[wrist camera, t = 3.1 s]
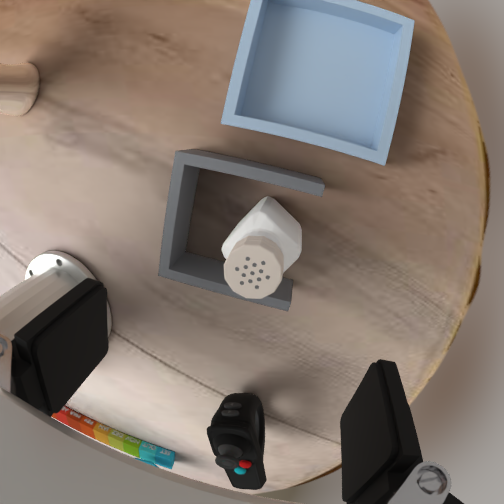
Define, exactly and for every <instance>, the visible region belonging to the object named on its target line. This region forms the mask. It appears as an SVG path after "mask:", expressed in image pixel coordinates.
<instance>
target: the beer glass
mask: <svg viewBox="0 0 504 504" xmlns="http://www.w3.org/2000/svg"><path fill="white" fill-rule="evenodd" d="M39 84H40V78H39V73H38V70H37V68H36V67H35V66H34V65H33V64H31V63H20V64H11V65H9V64H2V63H0V114H6V115H11V116H21V115H23V114H25V113H26V112H28V111H29V109H30V108H31V107H32V105H33V104H34V102H35V100H36V97H37V94H38V91H39Z"/></svg>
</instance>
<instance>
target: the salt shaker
mask: <svg viewBox="0 0 504 504" xmlns="http://www.w3.org/2000/svg"><path fill="white" fill-rule="evenodd" d="M221 250H222V253H223V255H224V257H225V258H226V261H225V263H224V277H225V280H226V282H227V283H228V285H229V286H230V288H231V289H232V291H234V292H235V293H237V294H239V295H241V296H243V297H245V298H251V299H262V298H264V297H266V296H268V295H270V294H272V293H274V292H275V290H276V289H277V287H278V286H279V284H280V283H281V281H282V276H283V273H284V272H285V271H286V270H287V269H288V268H289V267H290V266H291V265H292V264H293V263H294V262H295V261H296V260H297V259H298V258H299V256H300V253H301V251H302V228H301V226H300V224H299V223H298V222H297V221H296V220H295V219H294V218H293V217H292V216H291V215H290V214H289V213H288V212H287V211H286V210H285V209H284V208H283V207H282V206H281V205H280V204H279V203H278V202H277V201H276V200H275V199H274V198H272V197H269V196H267V197H265V198H262V199H261V200H260V201H259V202H258V203H257V204H256V205H255V207H254V208H253V209H252V210H251V211H250V212H249V213H248V214H247V215H246V216H245V217H244V218H243V219H242V220H241V221H240V222H239V223H238V224H237V226H236V227H235V228H234V230H233V231H232V232H231V234H230V235H229V236H228V238H227V239H226V241H225V242H224V243H223V246H222V249H221Z"/></svg>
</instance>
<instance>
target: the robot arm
mask: <svg viewBox="0 0 504 504" xmlns="http://www.w3.org/2000/svg"><path fill="white" fill-rule="evenodd" d="M111 326H112V323H111V312H110V307H109V304H108V301H107V290H106V288H104V285H103V283H102V282H100V281H97V280H96V279H95V277H94V276H93V275H92V273H91V272H90V271H89V270H88V269H87V268H86V267H85V266H84V265H83V264H82V263H81V262H79V261H78V260H77V259H75V258H74V257H72V256H71V255H68V254H66V253H63V252H60V251H47V252H44V253H42V254H40V255H38V256H37V257H35V258H34V259H33V260H32V261H31V263H30V264H29V266H28V268H27V272H26V277H25V280H24V281H23V282H21V283H19V284H18V285H16V286H15V287H13V288H12V289H10V290H9V291H7V292H6V293H4V294H3V295H1V296H0V504H303V503H295V502H288V501H282V500H276V499H271V498H265V497H260V496H255V495H251V494H246V493H242V492H237V491H233V490H229V489H225V488H221V487H218V486H214V485H210V484H207V483H203V482H200V481H197V480H193V479H190V478H187V477H184V476H181V475H178V474H175V473H172V472H169V471H166V470H163V469H160V468H158V467H155V466H152V465H150V464H147V463H145V462H142V461H140V460H137V459H135V458H132V457H130V456H127V455H125V454H123V453H121V452H118V451H116V450H114V449H111V448H109V447H107V446H105V445H103V444H101V443H99V442H97V441H94V440H92V439H90V438H88V437H86V436H84V435H82V434H81V433H79V432H77V431H75V430H73V429H71V428H69V427H67V426H66V425H64V424H62V423H60V422H58V421H57V420H55V419H53V418H51V416H52V415H53V413H58V412H59V411H60V410H61V409H62V408H63V406H64V405H65V404H66V403H67V402H68V400H69V399H70V398H71V397H72V395H73V394H74V393H75V392H76V390H77V389H78V388H79V387H80V386H81V384H82V383H83V382H84V381H85V379H86V378H87V377H88V376H89V375H90V373H91V372H92V371H93V370H94V369H95V367H96V366H97V365H98V364H99V363H100V361H101V360H102V359H103V358H104V357H105V355H106V354H107V351H108V337H109V335H110V331H111ZM340 428H341V454H342V499H343V501H345V502H347V504H464V503H462V502H461V501H460V500H458V499H457V498H456V497H455V496H453V495H452V494H451V493H449V491H450V488H451V478H450V475H449V474H448V472H447V471H446V469H445V468H443V467H442V466H441V465H439V464H437V463H435V462H430V461H428V462H423V459H422V455H421V450H420V446H419V442H418V438H417V433H416V430H415V426H414V422H413V418H412V414H411V411H410V407H409V405H408V403H407V399H406V396H405V392H404V389H403V385H402V382H401V379H400V375H399V372H398V369H397V365H396V363H395V362H392V361H386V360H381V359H380V360H378V361H377V362H376V363H374V362H373V363H372V364H371V365H370V367H369V369H368V371H367V373H366V374H365V376H364V378H363V380H362V382H361V383H360V385H359V387H358V389H357V390H356V392H355V394H354V396H353V397H352V399H351V401H350V402H349V404H348V406H347V407H346V409H345V411H344V412H343V414H342V417H341V421H340Z"/></svg>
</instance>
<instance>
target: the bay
mask: <svg viewBox="0 0 504 504" xmlns="http://www.w3.org/2000/svg"><path fill="white" fill-rule="evenodd" d="M200 168H204V169H209V170H214V171H218V172H223V173H227V174H232V175H236V176H241V177H245V178H249V179H253V180H258V181H262V182H266V183H270V184H274V185H278V186H282V187H286V188H290V189H294V190H298V191H301V192H305V193H309V194H313V195H316V196H320V197H322V195H323V191H324V188H325V184H324V182H323V181H322V179H321V178H318V177H314V176H311V175H307V174H303V173H299V172H295V171H292V170H288V169H284V168H280V167H275V166H271V165H267V164H263V163H259V162H254V161H250V160H245V159H241V158H236V157H232V156H227V155H222V154H217V153H212V152H207V151H202V150H197V149H189V150H180V151H176V152H175V158H174V163H173V169H172V175H171V181H170V188H169V194H168V201H167V208H166V215H165V222H164V230H163V238H162V246H161V255H160V264H159V273H158V276H161V277H165V278H168V279H171V280H175V281H178V282H182V283H185V284H188V285H192V286H195V287H199V288H202V289H206V290H210V291H213V292H217V293H220V294H224V295H228V296H231V297H235V298H239V299H242V300H246V301H250V302H254V303H257V304H261V305H265V306H269V307H273V308H277V309H281V310H285V311H288V310H289V307H290V304H291V297H292V284H293V280H291V279H287V278H283V277H282V281H281V283H280V284H279V286H278V287H277V289H276V290H275V292H274V293H272V294H270V295H268V296H266V297H264V298H262V299H251V298H245V297H243V296H241V295H239V294H237V293H235V292H234V291H232V289H231V288H230V286H229V285H228V283H227V282H226V280H225V277H224V263H225V262H222V261H219V260H215V259H211V258H207V257H204V256H200V255H196V254H192V253H189V252H186V247H187V240H188V234H189V227H190V221H191V215H192V209H193V203H194V198H195V192H196V186H197V181H198V175H199V170H200Z"/></svg>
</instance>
